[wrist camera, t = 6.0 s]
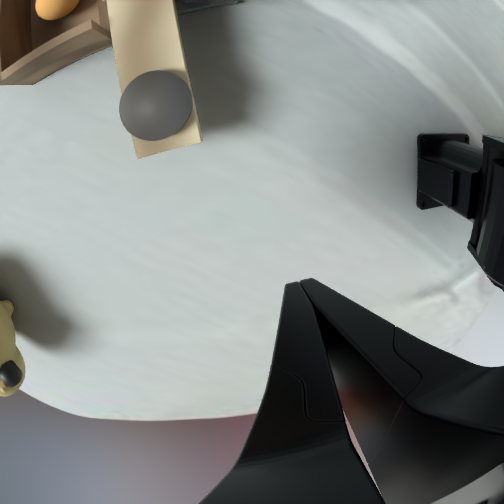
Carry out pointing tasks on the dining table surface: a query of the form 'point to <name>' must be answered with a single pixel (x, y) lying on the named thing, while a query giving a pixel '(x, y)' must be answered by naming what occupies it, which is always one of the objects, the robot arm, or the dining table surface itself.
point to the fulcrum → (200, 4)
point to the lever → (153, 76)
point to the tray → (48, 39)
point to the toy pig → (9, 353)
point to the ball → (54, 8)
